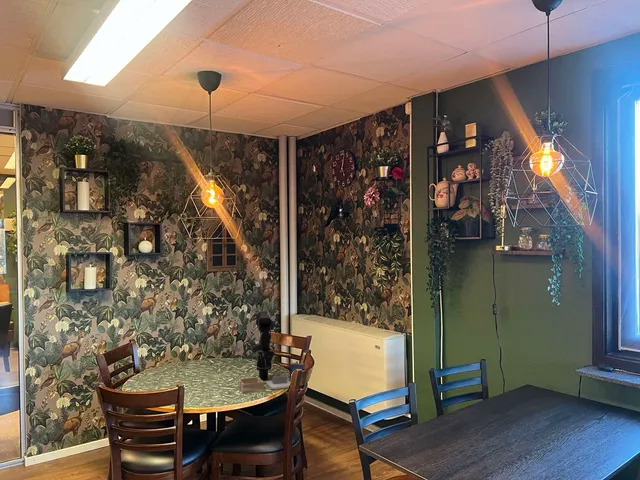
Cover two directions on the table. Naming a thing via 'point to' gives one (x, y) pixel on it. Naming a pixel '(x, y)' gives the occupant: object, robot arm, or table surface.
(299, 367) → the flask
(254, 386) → the box
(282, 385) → the lid
